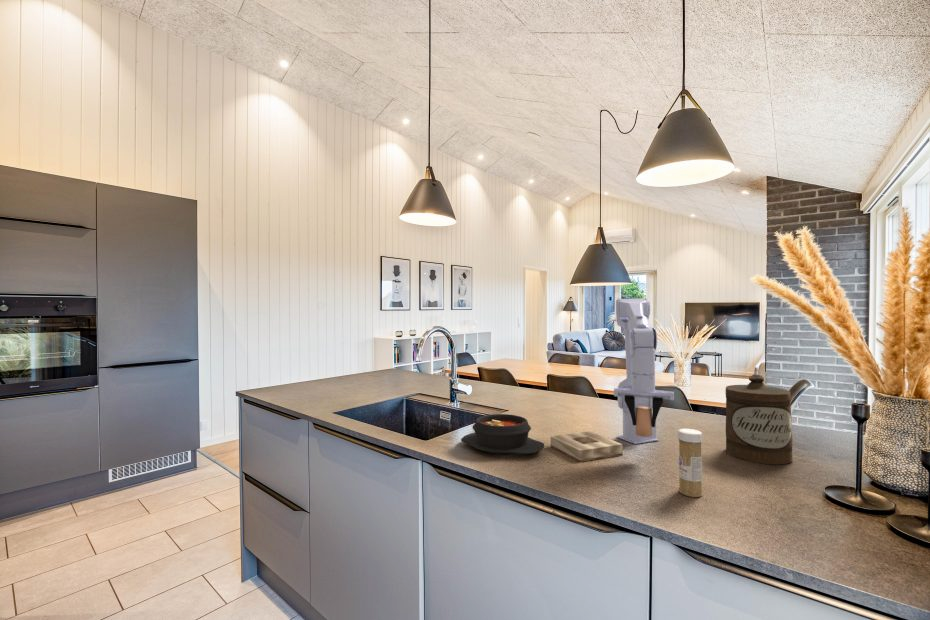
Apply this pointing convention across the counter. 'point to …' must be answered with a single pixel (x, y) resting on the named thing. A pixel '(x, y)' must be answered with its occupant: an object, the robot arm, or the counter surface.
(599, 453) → the oak socket block
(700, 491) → the sprinkles bottle
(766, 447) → the wooden container
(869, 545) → the counter surface
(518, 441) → the casserole
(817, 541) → the counter surface
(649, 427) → the terracotta peg
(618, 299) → the robot arm
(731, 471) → the counter surface
